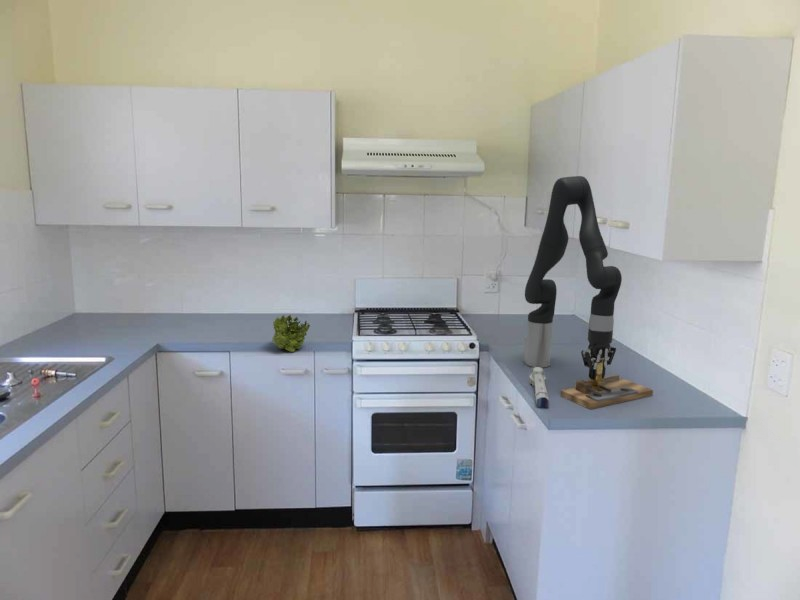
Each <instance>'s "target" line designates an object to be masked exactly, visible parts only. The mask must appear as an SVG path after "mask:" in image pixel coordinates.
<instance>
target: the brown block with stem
mask: <svg viewBox="0 0 800 600" xmlns="http://www.w3.org/2000/svg"><path fill="white" fill-rule="evenodd" d="M575 382H576V390H577V391H579V392H581V393H584V394H586V393H591V392H592V393H595V394H599V392H598V391H596V390H594V389H592V383H589V382H587V381H585V380H584V379H581V380H576V381H575Z"/></svg>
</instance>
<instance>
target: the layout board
mask: <svg viewBox="0 0 800 600" xmlns="http://www.w3.org/2000/svg"><path fill="white" fill-rule="evenodd" d="M588 380H589V379H587V380H584V381H587V382H588ZM602 380H604V386H605V387H607V388H610V389H611V392H609V391H606V390H604V389H603V390H598V392H599V394H595V393H592V392H591V393H586V394H584V393H581V392H579V391H577V390H576V381H575V382H573V387H571V388H565V389H560V395H561V396H560V397H562V398H565V399H566V398H567V400H568V399H569V401H570V402H573V403H575V404H577V405H579V406H582V407H584V408H585V409H588V410H593V409H599V408H603V407H607V406H611V405H612V406H613V405H616V404H621V403H626V402H630V401H635V400H639V399H643V398H649V397H652V396H653V393H654V390H653V389H652V388H649V387H646V386H643V385H641V384H638V383H636V382H634V381H630V380H628V379H625V378H622V377H621V378H620V375H619V374H611V375H605V376H604V378H602ZM596 391H597V390H596ZM648 396H649V397H648Z"/></svg>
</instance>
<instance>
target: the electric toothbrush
mask: <svg viewBox="0 0 800 600" xmlns="http://www.w3.org/2000/svg"><path fill="white" fill-rule="evenodd" d="M529 380H530V382H529V383H530V385H531V384H532V385H531V386H533V387H534V393H535V394H534V401H535V404H536V406H537V407H538V408H539V409H543V408H542V407H547V408H548V407H549V406H550V395H549V394H548V391H547V388H546V387H547V386H546V383H545V382H546V375H544V370H543V367H542V368H540V367H533V368H532V373H531V374H529Z"/></svg>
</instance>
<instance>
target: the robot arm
mask: <svg viewBox="0 0 800 600" xmlns="http://www.w3.org/2000/svg"><path fill="white" fill-rule="evenodd" d="M571 205H577V207H578V209H579V211H580V213H581V214H580V215H581V216H580V217H581V220H580V221H581V222H580V227H579V231H578V232H579V233H578V239H579V244H580V247H581V250H582V252H583V255H584V258H585V267H586V277H587V281H588V282H589V284H590V285H591V287H592V288H594V289H595V290H599V293H598V294H595V295H594V296H593V297H592V299H591V304H590V306H591V307H590V314H589V319H588V328H587V329H588V331H587V341H588V346H587V349H586V350H583V349H582V350H581V352H580V353H581V358H582V362H583V366H584V367H587V368H588V370H589V371H588V379H589V378H590V379H592V380H595V379H596V370H597V369H596V367H597V363H598V362H599V361H602V362H603V370H602V378H604V377H606V368H607V367H608V366H610V365H611V364H612V362H613V360H614V357H615V354H616V351H617V348H616V347H614V346H611V343H612V342H613V337H614V335H613V334H614V326H615V325H614V322H615V320H614V314H615V313H614V312H615V302H616V299H617V297H618V294H619V291H620V289H621V287H622V286H621V285H622V280H623V279H622V273H621V271H620V269H619V268H618V267H616V266H613V265H608V266H604V260H606V259H607V257H608V256H609V255H608V254H609V252H608V249H607V246H606V244H605V241H604V238H603V236H602V233H601V230H600V227H599V222H598V218H597V213H596V212H597V211H596V208H595V207H596V206H595V202H594V197H593V193H592V189H591V185H590V182H589V181H588V179H587V178H586V177H585V176H581V175H576V176H564V177H559V178H558V179H556V181H555V182H554V184H553V187H552V191H551V194H550V201H549V206H548V213H547V217H546V221H545V225H544V229H543V233H542V235H541V238H540V242H539V244H538V249H537V254H536V257H535V260H534V264H533V267H532V269H531V272H530V274H529V275H528V278H527V281H526V284H525V289H524V299H525V301H526V302H527V303H528V304H532V305H540V306H539V307H537V309H534V310H532V311H531V312H528V314H527V328H526V329H527V330H526V331H527V333H526V338H524V354H523V363H525V365H526V366H529V367H532V368H535V367H540V368H542V369H543V368H548V367H550V364H551V351H552V338H553V337H552V335H553V322H554V321H553V320H554V315H555V309H556V303H557V302H556V300H557V294H558V293H557V291H558V290H557V284H556V282H555V281H554V280H552V279H550V278H549V279H545V276H546V275H547V274H548V273H549V271H551V269H553V268H555V266H556V265H557V264H558V263H559V262H560V261H561V260H562V259H563V257H564V255H565V253H566V250H567V246H568V244H569V234H568V230H567V227H566V225H565V220H564V219H565V213H566V211H567V208H568V206H571ZM593 362H594V364H593Z"/></svg>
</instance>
